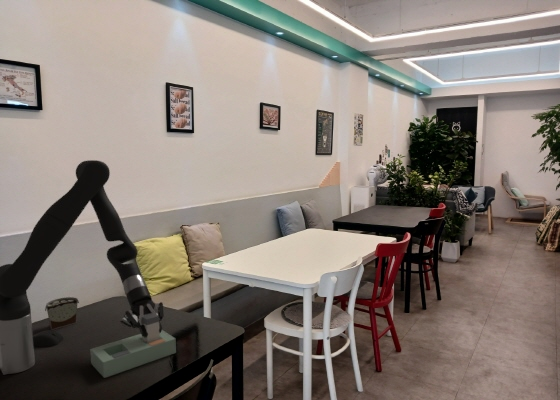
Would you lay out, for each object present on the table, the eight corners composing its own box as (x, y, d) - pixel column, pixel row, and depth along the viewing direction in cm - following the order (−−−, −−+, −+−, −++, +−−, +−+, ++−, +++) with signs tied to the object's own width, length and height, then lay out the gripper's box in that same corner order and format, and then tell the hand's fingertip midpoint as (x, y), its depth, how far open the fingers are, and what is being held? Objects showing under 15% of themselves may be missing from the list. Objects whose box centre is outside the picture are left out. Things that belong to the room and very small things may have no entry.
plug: (147, 348, 142) (146, 319, 141) (142, 343, 145) (140, 315, 144) (160, 344, 145) (158, 316, 144) (154, 340, 148) (153, 312, 147)
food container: (75, 317, 177) (73, 294, 176) (80, 322, 173) (78, 298, 172) (42, 326, 169) (40, 302, 168) (47, 331, 164) (45, 306, 163)
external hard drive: (122, 321, 174) (149, 313, 183) (132, 327, 168) (159, 318, 177) (121, 318, 173) (149, 309, 183) (131, 323, 168) (159, 314, 177)
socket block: (104, 378, 129) (103, 361, 129) (91, 363, 138) (90, 348, 138) (176, 352, 145) (175, 338, 144) (160, 341, 154) (159, 327, 153)
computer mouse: (55, 346, 151) (54, 336, 151) (24, 346, 152) (23, 336, 151) (65, 339, 158) (64, 328, 157) (35, 339, 158) (34, 328, 158)
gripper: (119, 290, 144) (135, 335, 136) (158, 281, 153) (176, 323, 146) (114, 301, 149) (129, 345, 141) (152, 292, 158) (169, 333, 150)
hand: (153, 334), depth 143 cm, fingers closed on plug, 4 cm apart
